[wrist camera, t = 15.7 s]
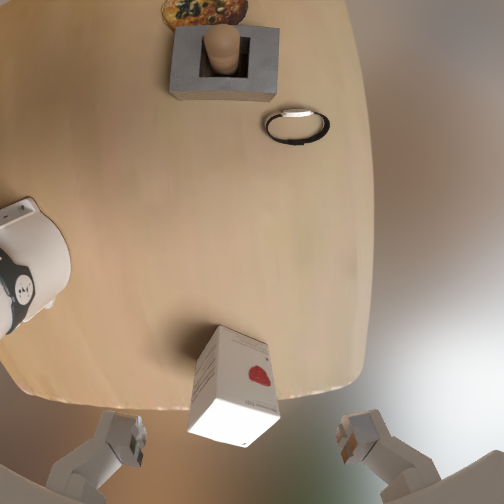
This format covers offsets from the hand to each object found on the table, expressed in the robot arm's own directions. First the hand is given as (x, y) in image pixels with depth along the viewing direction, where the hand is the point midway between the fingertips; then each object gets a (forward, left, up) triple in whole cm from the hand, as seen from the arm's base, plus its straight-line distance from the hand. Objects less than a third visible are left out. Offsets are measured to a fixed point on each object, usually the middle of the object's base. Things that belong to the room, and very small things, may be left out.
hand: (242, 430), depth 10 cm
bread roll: (-6, +30, -30) cm, 42 cm away
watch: (+7, +13, -30) cm, 33 cm away
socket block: (-2, +20, -29) cm, 35 cm away
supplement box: (0, -21, -29) cm, 36 cm away
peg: (-2, +20, -29) cm, 35 cm away
